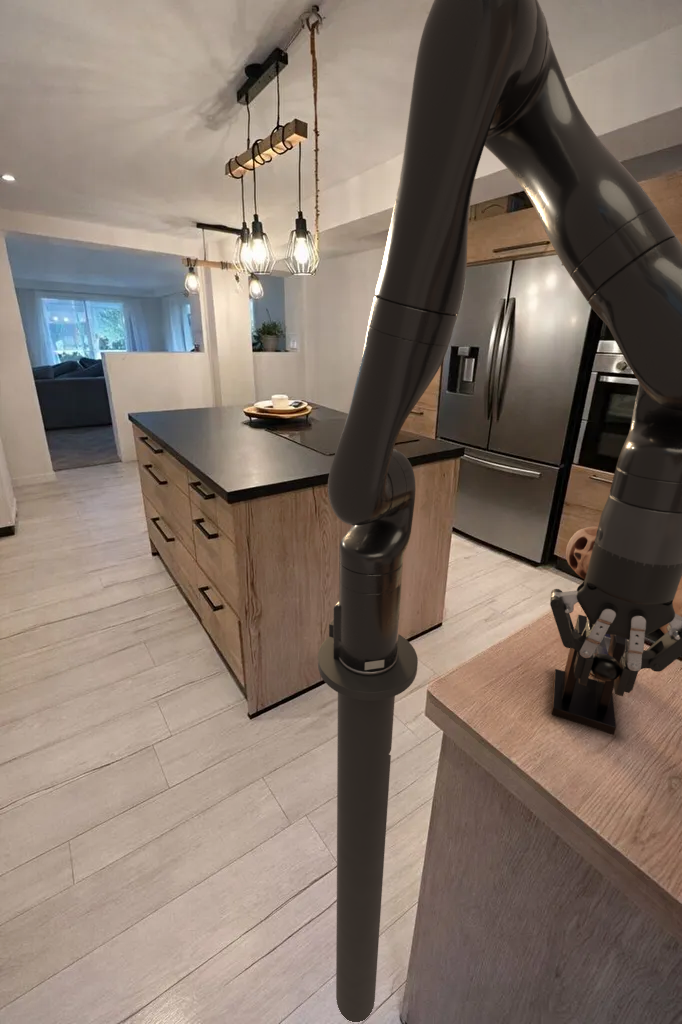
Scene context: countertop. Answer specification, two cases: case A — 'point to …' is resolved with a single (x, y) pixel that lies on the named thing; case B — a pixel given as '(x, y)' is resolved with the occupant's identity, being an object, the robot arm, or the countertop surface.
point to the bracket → (586, 690)
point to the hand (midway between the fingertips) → (599, 684)
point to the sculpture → (581, 554)
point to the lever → (605, 661)
